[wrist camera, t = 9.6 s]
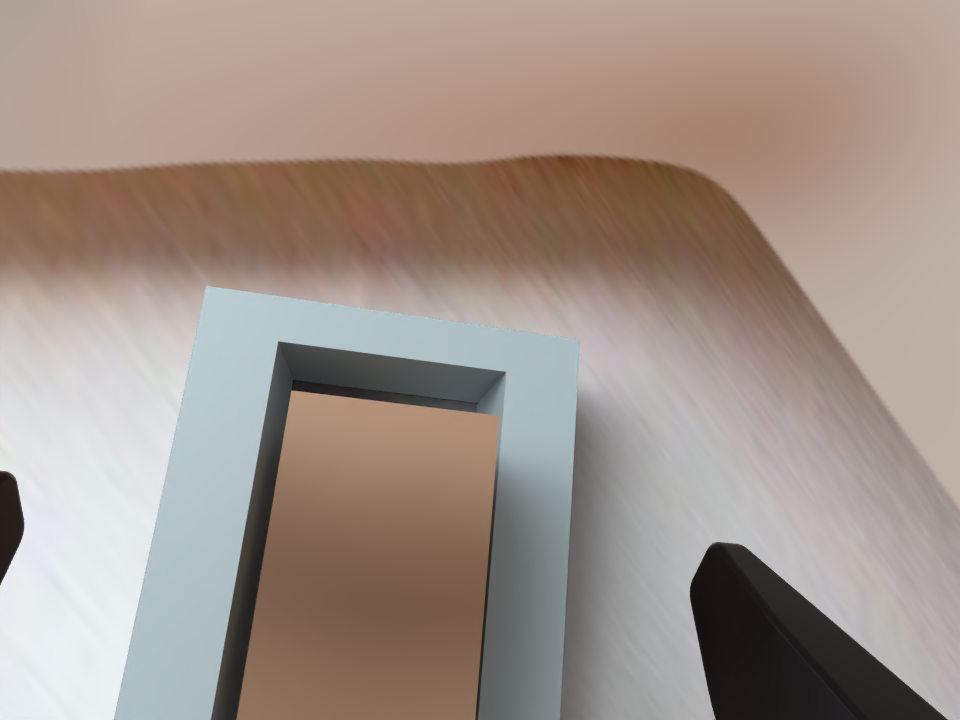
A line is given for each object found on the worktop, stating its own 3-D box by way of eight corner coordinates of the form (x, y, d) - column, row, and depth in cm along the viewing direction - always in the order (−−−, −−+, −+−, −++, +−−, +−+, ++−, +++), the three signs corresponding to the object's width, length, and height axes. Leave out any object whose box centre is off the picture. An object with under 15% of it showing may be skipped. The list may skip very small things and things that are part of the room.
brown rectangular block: (414, 737, 20) (461, 893, 11) (273, 730, 19) (208, 890, 10) (442, 462, 22) (499, 416, 13) (316, 449, 21) (291, 390, 13)
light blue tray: (504, 864, 19) (547, 958, 15) (133, 856, 18) (63, 958, 13) (537, 376, 23) (579, 339, 19) (235, 335, 22) (205, 285, 17)
